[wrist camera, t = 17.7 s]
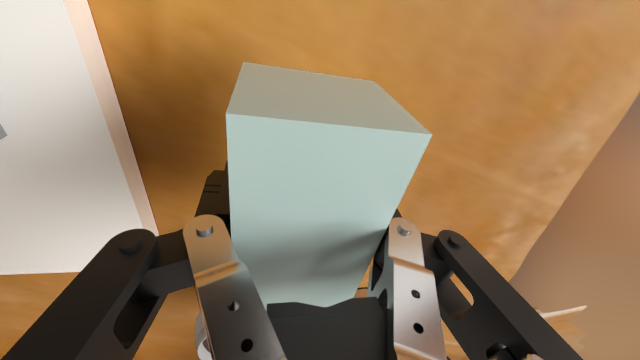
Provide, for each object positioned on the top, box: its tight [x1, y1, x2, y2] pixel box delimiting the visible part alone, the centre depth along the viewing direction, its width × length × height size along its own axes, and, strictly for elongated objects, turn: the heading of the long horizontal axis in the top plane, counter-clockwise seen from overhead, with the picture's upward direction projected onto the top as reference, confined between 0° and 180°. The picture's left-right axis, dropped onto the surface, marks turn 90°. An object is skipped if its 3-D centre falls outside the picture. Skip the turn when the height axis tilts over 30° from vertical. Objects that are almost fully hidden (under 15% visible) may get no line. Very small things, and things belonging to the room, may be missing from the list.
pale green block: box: [226, 62, 432, 310], centre depth 11 cm, size 10×6×5 cm, turn 170°
